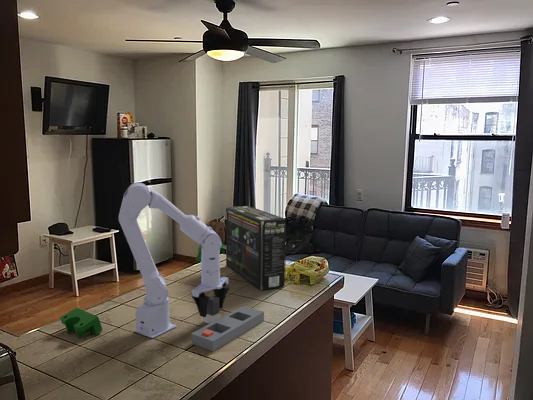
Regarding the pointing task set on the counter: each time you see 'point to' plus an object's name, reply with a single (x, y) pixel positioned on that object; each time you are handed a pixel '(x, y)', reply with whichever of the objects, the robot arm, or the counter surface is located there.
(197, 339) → the power strip
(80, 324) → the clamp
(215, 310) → the plug
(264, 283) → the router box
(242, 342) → the counter surface
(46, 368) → the counter surface
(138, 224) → the robot arm
